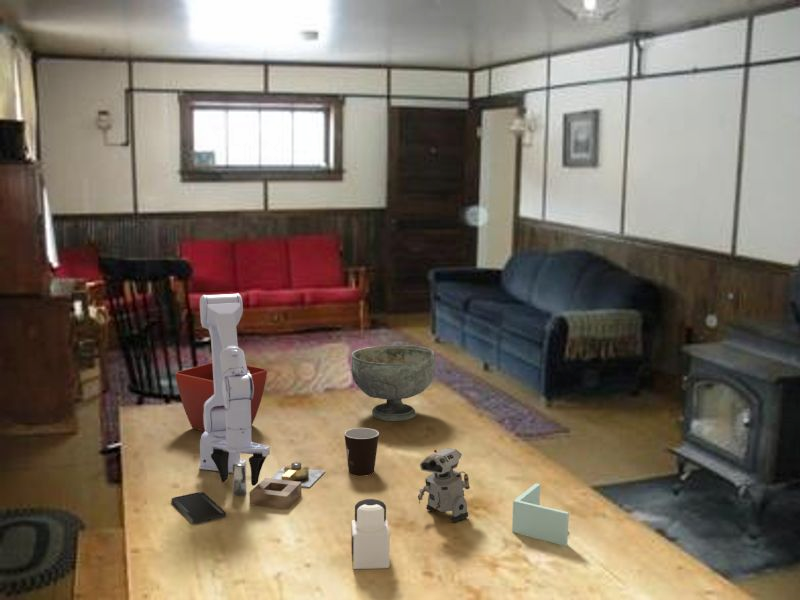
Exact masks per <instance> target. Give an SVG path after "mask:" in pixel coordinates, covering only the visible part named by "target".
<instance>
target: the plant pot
mask: <svg viewBox="0 0 800 600" xmlns="http://www.w3.org/2000/svg"><path fill="white" fill-rule="evenodd" d="M246 366H247V371H250V374H251V376H252V380H253V386H254V393H253V398H252V399H251V398H250V400H251V426H253V423H254V421H255V419H256V416H257V413H258V412H259V411H258V410H259V408H260V404H261V402H262V398H263V394H264V390H265V386H266V380H267V375H268V369H267V368H262V367H257V366H251V365H247V364H246ZM175 381H176V384H177V385H176V386H177V390H178V392H179V396H180V400H181V403H182V406H183V410H184V412H185V415H186V418H187V420H188V422H189V424H190V426H191V428H192V429H195V430H199V431H201V432H205V428H204V420H203V414H204V404H205V402H206V401H207V400H208V399H209V398H210V397H211V396H213V395H214V381H213V365H212V362H210V363H205V364H201V365H198V366H193V367H191V368H187V369H181V370H179V371H175ZM219 407H225V406H224V405H223V406H215V407H213V408H219Z"/></svg>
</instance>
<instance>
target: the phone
mask: <svg viewBox="0 0 800 600" xmlns="http://www.w3.org/2000/svg"><path fill="white" fill-rule="evenodd" d="M170 501H171V502H172V503H173V504H172V503H171V504H172V505H173V506H174V507H175V508H176V509H177V510H178V512H180V514H182V516H184V517H185V518H186V520H188V522H190V524H193V525H199V524H204V523H209V522H214V521H218V520H222V519H225V518H226V517H227V514H226V513H227V512H226V511H225V510H224V509H223V508H222V507H220V505H218V504H217V503H216V502H215V501H214V500H213V499H212V498H211V497H210V496H208V495H207V494H206V493H205V492H203V491H199V492H193V493H189V494H185V495H184V494H183V495H180V496H175V497H172V498H171V500H170Z"/></svg>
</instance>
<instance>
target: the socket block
mask: <svg viewBox="0 0 800 600" xmlns="http://www.w3.org/2000/svg"><path fill="white" fill-rule="evenodd" d="M271 478H272V477H270V478H268V477H265V478H264V479H263V480H261V481H260V482H258V483H257V484H256V485H255V487H253V488H252V489H251V490H250V491H249V505H251V506H256V507H257V506H258V507H259V506H260V507H265V508H266V507H268V508H275V509H283V510H288V509H289V507H291V506H292V505H293V504H294V502H295V501H296V500H297V499H298V498H299V497H301V495H302V487H301V482H297V481H289V480H280V479H271Z"/></svg>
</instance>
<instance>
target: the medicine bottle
mask: <svg viewBox="0 0 800 600" xmlns="http://www.w3.org/2000/svg"><path fill="white" fill-rule="evenodd" d="M388 522H389V521H388V519H387V506H386V504H385V503H384V502H383V501H382V500H379V499H374V498H368V499H362V500H360V501H358V502H357V503H356V504H355V505H354V519H352V520H351V538H350V539H351V540H350V541H351V543H350V544H351V547H350V548H351V551H350V552H351V564H352V565H351V566H352V569H353V570H373V569H374V570H377V569H389V568H390V564H391V563H390V562H391V561H390V556H391V555H390V553H391V550H390V548H391V546H390V545H391V542H390V539H391V537H390V536H391V534H390V528H389V523H388Z"/></svg>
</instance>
